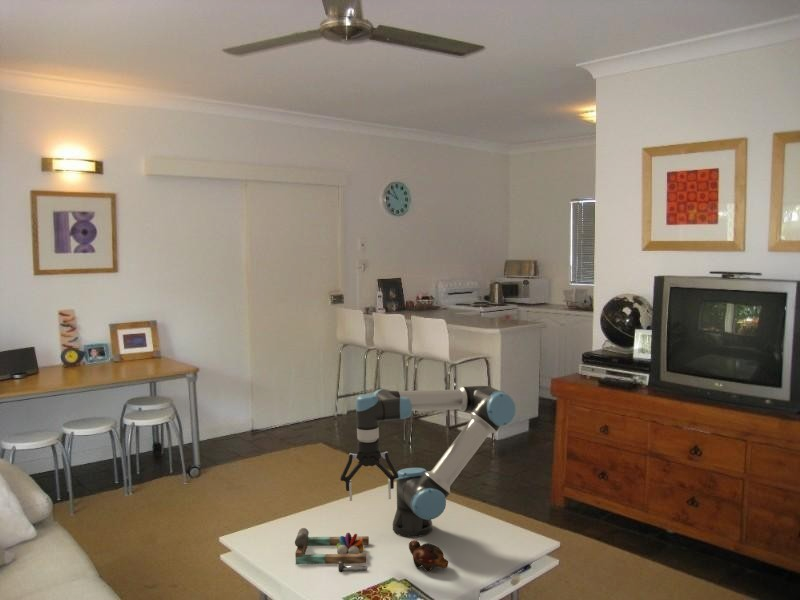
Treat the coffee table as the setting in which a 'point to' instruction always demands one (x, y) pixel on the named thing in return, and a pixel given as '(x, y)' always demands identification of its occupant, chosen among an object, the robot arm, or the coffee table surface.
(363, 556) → the bay
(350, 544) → the rainbow sensory ball
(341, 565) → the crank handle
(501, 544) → the coffee table surface
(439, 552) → the decorative turtle
